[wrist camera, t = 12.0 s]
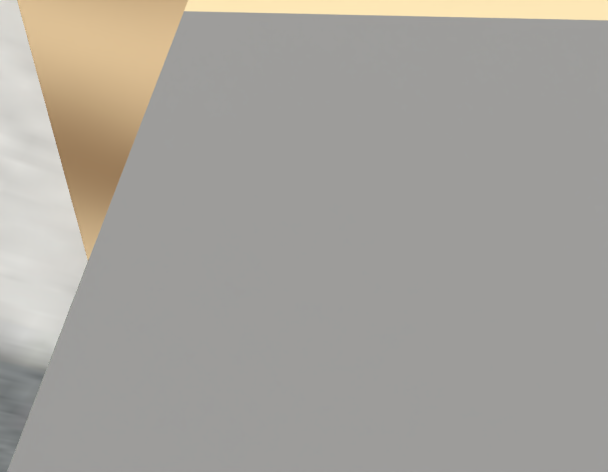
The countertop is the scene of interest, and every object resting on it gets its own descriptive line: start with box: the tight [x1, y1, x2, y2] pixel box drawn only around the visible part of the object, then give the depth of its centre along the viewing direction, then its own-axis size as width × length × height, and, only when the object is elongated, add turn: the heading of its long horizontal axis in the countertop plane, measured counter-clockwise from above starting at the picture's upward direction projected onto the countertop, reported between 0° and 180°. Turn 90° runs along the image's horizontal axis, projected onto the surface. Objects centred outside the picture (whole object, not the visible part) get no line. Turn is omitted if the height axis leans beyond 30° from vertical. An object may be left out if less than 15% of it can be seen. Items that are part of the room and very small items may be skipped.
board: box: [17, 0, 188, 260], centre depth 13 cm, size 26×14×2 cm, turn 178°
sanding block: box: [7, 0, 608, 472], centre depth 6 cm, size 8×4×5 cm, turn 178°
